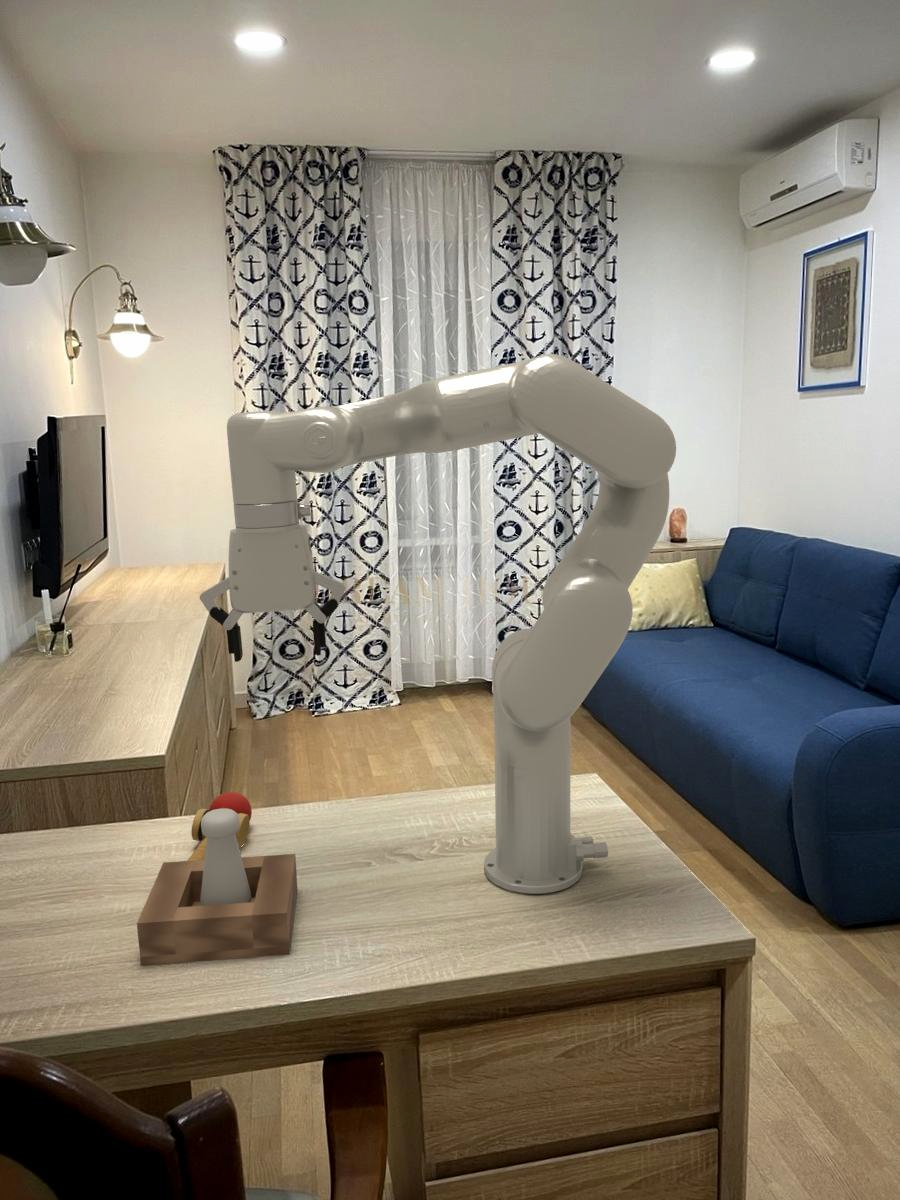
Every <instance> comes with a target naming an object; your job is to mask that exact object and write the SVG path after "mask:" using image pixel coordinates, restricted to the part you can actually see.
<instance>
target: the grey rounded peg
mask: <svg viewBox="0 0 900 1200" xmlns="http://www.w3.org/2000/svg"><path fill="white" fill-rule="evenodd" d="M201 829H202V833H203V835H204V836H205V837H207V843H206V852H205V861H204V870H203V879H202V888H201V897H200V903H201V906H206V905H221V904H235V903H249V902H251V891H250V887H249V884H248V880H247V876H246V872H245V868H244V865H243V861H242V854H241V849H239V846H238V842H237V838H236V833H237V831H238V830H239V817H238V814H237V813H236V812H235V811H233V810H232V809H227V808H223V809H215V810H212V811H209V812H207V813H206V814H205V815H204V816H203V817H202V819H201Z"/></svg>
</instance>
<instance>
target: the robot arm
mask: <svg viewBox="0 0 900 1200" xmlns="http://www.w3.org/2000/svg"><path fill="white" fill-rule="evenodd" d="M538 434H540V435H541V436H542V437H544V438H545V439H547V440H548V441H550V442H552V443H553V444H554V445H555V446H558V447H559V448H560V449H562V450H564V451H565V452H567V453H568V454H570V455H571V456H573V457H575V458H576V459H578V460H579V461H581V462H583V464H584V463H585V464H586V465H588V466H589V467H591V468H592V469H594V470H595V471H596V473H597V477H598V480H599V485H598V487H599V489H598V495H597V499H596V501H595V504H594V507H593V508H592V511H591V512H590V514H589V516H588V517H587V519H586V521H585V523H584V525H583V526H582V528H581V530H580V532H578V535H577V536H576V538H575V539H574V540H573V542H572V543H571V545H570V547H569V548H568V550H567V551H566V552H565V554H564V555H563V557H562V559H560V561H559V562H558V564H557V565H556V567H555V568H554V570H552V572H551V574H549V576H548V578H547V580H546V581H545V584H544V586H543V589H542V595H541V597H542V606H543V610H542V612H541V613H540V615H539V617H538V618H537V619H536V622H535V623H534V624H533V626H532V628H530V627H529V628H523V629H519V630H516V631H514V632H512V633H511V634H509V635H508V636H506V637H505V638H504V639H503V640H502V641H501V643H500V644H499V645H498V647H497V649H496V651H495V653H494V656H493V660H492V666H491V680H492V681H491V683H492V684H491V685H492V698H493V699H492V701H493V720H494V721H493V726H494V727H493V728H494V729H493V731H494V735H493V736H494V794H495V796H494V802H495V807H494V808H495V848H494V849H493V850H491V851H490V852H489V853H488V854H487V855H485V858H484V861H483V863H484V864H483V865H484V867H483V870H484V874H485V876H486V877H487V879H489V881H490V882H491V883H493V884H495V885H496V886H497V887H500V888H502V889H504V890H507V891H511V892H516V893H520V894H530V895H534V894H536V895H541V894H549V893H552V894H553V893H556V892H560V891H562V890H565V889H568V888H569V887H571V886H574V885H575V884H576V883H578V882H579V880H580V879H581V877H582V876H583V862H584V860H585V859H603V858H608V856H609V855H608V854H609V849H608V844H607V842H606V841H600V842H599V841H598V842H594V839H593V836H582V837H575V835H572V832H571V757H572V748H571V747H572V735H571V733H572V731H571V728H572V727H571V717H572V716H573V715H574V714H575V712H576V711H577V710H578V709H579V707H580V706H581V705H582V703H583V702H584V701H585V699H586V698H587V696H589V693H590V691H591V690H593V687H594V686H595V685H596V683H597V681H598V680H599V678H600V677H601V676H602V674H603V673H604V671H605V670H606V669H607V667H608V666H609V664H610V662H611V661H612V659H613V657H615V656H616V654H617V652H618V650H619V649H620V647H621V646H622V644H623V642H624V641H625V639H626V637H627V634H628V632H629V629H630V627H631V624H632V621H633V613H634V611H633V601H632V598H631V595H630V592H629V588H630V586H631V585H632V583H633V582H634V580H635V578H636V577H637V575H638V574H639V572H640V571H641V569H642V567H643V566H644V564H645V563H646V560H647V558H648V557H649V556H650V554H651V552H652V550H653V549H654V547H655V545H656V543H657V542H658V540H659V538H660V536H661V534H662V531H663V529H664V526H665V524H666V522H667V521H666V520H667V517H668V512H669V506H670V481H669V474H668V473H669V472H670V471H671V468H673V464H674V462H675V459H676V456H677V443H676V442H677V441H676V438H675V435H674V432H673V430H672V428H671V427H670V425H669V424H668V422H666V421H665V420H664V418H662V417H661V416H660V415H659V414H657V413H656V412H654V411H653V410H651V409H649V408H648V407H646V406H645V405H643V404H641V403H640V402H638V401H637V400H635V399H633V398H632V397H631V396H629V395H627V394H625V393H624V392H622V391H621V390H619V389H617V388H616V387H614V386H613V385H611V384H609V383H608V382H606V381H605V380H603V379H602V378H600V377H599V376H597V375H596V374H594V373H593V372H591V371H589V370H588V369H586V368H585V367H583V365H581V364H579V363H577V362H576V361H574V360H572V359H570V358H568V357H566V356H564V355H561V354H558V353H557V354H556V353H553V354H552V353H546V354H541V355H538V356H536V357H533V358H531V359H530V358H529V359H526V360H522V361H517V362H512V363H508V364H501V365H498V366H493V367H488V368H483V369H478V370H474V371H469V372H464V373H463V372H462V373H459V374H453V375H447V376H443V377H442V376H441V377H438V378H434V379H430V380H428V381H424V382H422V383H420V384H417V385H416V386H413V387H411V388H408V389H405V390H402V391H399V392H395V393H392V394H388V395H384V396H383V395H382V396H380V397H375V398H369V399H364V400H361V401H360V400H359V401H354V402H349V403H346V404H339V405H333V406H316V407H315V406H314V407H311V408H305V409H299V410H295V411H288V412H282V411H277V410H276V411H275V410H274V411H273V410H271V411H245V412H238V413H237V412H236V413H235V414H232V415H231V416H229V418H228V419H227V422H226V435H227V447H228V456H229V457H228V459H229V469H230V480H231V489H232V492H231V493H232V501H233V502H232V503H233V513H234V514H233V515H234V524H235V528H234V529H231V530H230V532H229V541H228V577H226V578H225V579H223V580H221V581H219V582H218V583H216V584H215V585H212V586H211V587H209V588H208V589H206V590H204V591H203V592H201V594H200V595H199V600H200V602H201V603H202V605H203V606H204V607H205V609H206V610H207V611H208V613H209V615H210V617H212V618H213V619H214V620H215V621H216V622H217V623H219V625H221V626H222V627H223V629H225V630H226V637H227V648H228V649H227V650H228V654H230V655H231V654H233V659H234V662H235V663H238V662H240V661H241V660H242V658H243V643H242V632H241V625H239V619H240V618H241V617H242V616H243V615H244V614H259V613H271V612H272V613H274V612H285V611H286V612H288V611H298V610H299V611H301V610H305V611H306V612H307V613H308V614H309V615H310V616H311V617H312V618H313V620H312V633H313V634H312V635H313V646H314V655H316V656H321V655H322V648H324V647H325V648H327V640H326V638H327V637H326V627H325V626H326V625H325V623H326V621H327V619H328V618H329V617H330V616H331V615H332V614H333V612H335V611H336V610H337V608H338V607H339V604H340V601H341V599H342V597H343V595H344V592H345V590H346V586H345V584H344V582H341V581H339V580H337V579H334V578H331V577H329V576H327V575H324V574H322V573H320V572H317V571H315V568H314V567H315V566H314V560H313V552H312V551H313V550H312V546H311V540H310V537H309V533H308V529H307V526H306V524H300V520H302V518H305V517H311V516H312V515H311V505H310V504H307V505H306V504H305V505H304V503H303V504H301V502H299V500H298V490H297V488H298V487H297V478H296V471H297V472H305V473H306V472H308V473H315V474H316V473H318V474H326V473H332V472H336V471H338V470H340V469H342V468H344V467H348V466H353V465H357V464H361V463H366V462H372V461H375V460H381V459H386V458H391V457H397V456H402V455H408V454H409V455H410V454H418V453H419V454H420V453H422V454H423V453H425V454H427V453H429V454H441V453H446V452H447V453H449V452H453V451H460V450H463V449H468V448H469V449H470V448H472V447H477V446H478V447H479V446H482V445H487V444H493V443H498V442H503V441H507V440H513V439H518V438H519V439H520V438H523V437H527V436H533V435H538ZM316 585H317V586H320V587H321V588H322V587H323V588H325V589H327V590H329V591H330V592H331V594H330V596H329V599H327V601H325V603H324V604H323V605H322V606H321V605H320V604H319V603H318V602H317V601H316V596H317V587H316ZM227 591H229V600H230V606H231V608H232V609H231V611H230V612H229V613H228V612H227V611H226V610H224V609H223V608H222V607H220V606H219V604H218V602H217V600H216V598H217V597H219V596H220V595H221V596H222V594H225V593H226V592H227Z"/></svg>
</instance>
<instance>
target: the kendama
mask: <svg viewBox="0 0 900 1200" xmlns="http://www.w3.org/2000/svg"><path fill="white" fill-rule="evenodd" d="M223 808H227V809H232V810H233V811H235V812H236V813H237V814H238V817H239V830H238V831H237V833H236V838H237V842H238V846H239V849H240V848H241V846H242V845H243V844H244V843H245V844H246V841H247V838H248V835H249V829H250V821H251V818H252V810H253V809H252V806H251V803H250V801H249V800H248V799H247V797H246V796H245V795H243V794H241V793H239V792H237V791H226V792H223V793H221V794H220V795H218V796H216V797H215V798H214V799H213V801H212V802H211V804H210V806H209V808H208V809H207V808H199V810H197V812H196V813H195V815H194V818H193V821H192V825H191V833H190V834H191V839H192V840H194V841H196V842H200V843H199V845H198V846H197V847H196V848H195V849H194V851H193V852H192V854H191V855H190V856H189V858H188V859H187V860H186V861H194V860H205V852H206V843H207V837H205V836H204V835H203V833H202V829H201V819H202V817H203V816H204V815H205V814H206V813H207V812H209V811H212V810H215V809H223ZM245 844H244V845H245ZM244 845H243V846H244ZM241 849H242V848H241ZM241 849H240V850H241Z"/></svg>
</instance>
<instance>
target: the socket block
mask: <svg viewBox="0 0 900 1200" xmlns="http://www.w3.org/2000/svg"><path fill="white" fill-rule="evenodd" d="M241 857H242V856H241ZM204 861H205V860H194V861H187V860H181V861H179V860H178V861H167V862H165V861H164V862H162V864H161V867H160V868H159V871H158V874H157V876H156V879H155V881H154V883H153V885H152V887H151V890H150V891H149V895H148V897H147V899H146V902H145V903H144V905H143V906H144V907H143V908H142V911H141V912H140V915H139V918H138V919H137V922H136V927H137V928H136V929H137V939H138V949H139V950H138V951H139V958H140V966H149V965H150V966H151V965H161V964H176V963H177V964H178V963H189V962H190V963H191V962H202V961H203V962H204V961H216V960H217V961H218V960H228V959H229V960H231V959H241V958H256V957H269V956H272V957H273V956H281V955H282V956H283V955H284V956H285V955H290V954H291V953H290V952H291V946H292V945H291V944H292V936H293V930H294V929H293V928H294V920H295V914H296V908H297V905H296V904H297V898H298V892H297V891H298V877H297V875H298V873H297V859H296V853H289V854H273V855H258V856H255V855H254V856H244V857H242V861H243V865H244V868H245V872H246V876H247V880H248V884H249V887H250V891H251V902H249V903H235V904H221V905H206V906H201V903H200V897H201V888H202V879H203V870H204Z"/></svg>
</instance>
